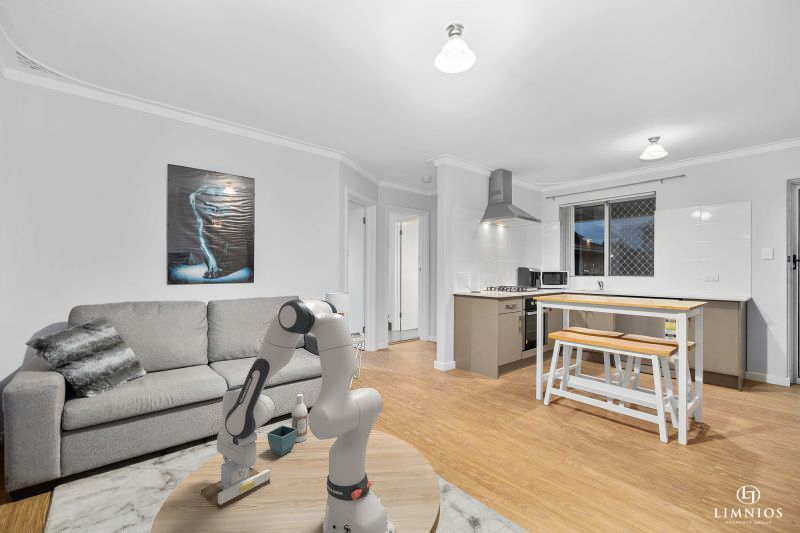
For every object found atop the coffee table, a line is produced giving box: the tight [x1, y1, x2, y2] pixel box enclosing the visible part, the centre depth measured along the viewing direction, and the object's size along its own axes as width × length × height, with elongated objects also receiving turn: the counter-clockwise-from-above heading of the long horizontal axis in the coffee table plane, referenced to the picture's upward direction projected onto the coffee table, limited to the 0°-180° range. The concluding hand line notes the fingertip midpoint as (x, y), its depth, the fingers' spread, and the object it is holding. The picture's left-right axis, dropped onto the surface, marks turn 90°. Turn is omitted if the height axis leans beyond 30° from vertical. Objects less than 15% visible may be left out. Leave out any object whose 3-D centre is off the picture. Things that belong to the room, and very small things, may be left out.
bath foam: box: [291, 393, 309, 443], centre depth 163 cm, size 7×7×20 cm
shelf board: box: [200, 466, 271, 510], centre depth 126 cm, size 13×18×2 cm
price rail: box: [218, 468, 271, 505], centre depth 122 cm, size 2×18×3 cm, turn 144°
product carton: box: [220, 460, 249, 489], centre depth 126 cm, size 5×8×7 cm
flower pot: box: [266, 425, 297, 457], centre depth 151 cm, size 9×9×9 cm
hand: (235, 471), depth 126 cm, fingers open, 8 cm apart
